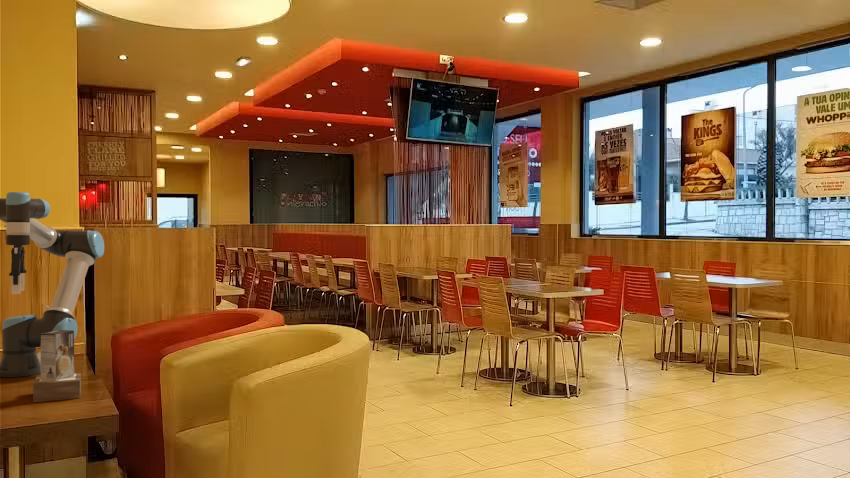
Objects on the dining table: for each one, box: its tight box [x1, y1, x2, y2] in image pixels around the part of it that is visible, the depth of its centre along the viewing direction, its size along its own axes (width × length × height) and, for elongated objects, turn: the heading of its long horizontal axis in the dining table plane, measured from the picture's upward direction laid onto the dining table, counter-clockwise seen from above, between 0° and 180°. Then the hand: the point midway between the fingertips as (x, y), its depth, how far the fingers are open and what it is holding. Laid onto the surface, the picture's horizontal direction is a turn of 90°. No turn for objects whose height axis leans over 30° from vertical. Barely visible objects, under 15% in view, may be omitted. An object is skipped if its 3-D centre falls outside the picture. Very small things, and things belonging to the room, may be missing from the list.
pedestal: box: [32, 372, 82, 403], centre depth 240 cm, size 14×14×6 cm
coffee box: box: [40, 330, 75, 381], centre depth 239 cm, size 9×6×16 cm
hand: (18, 292), depth 251 cm, fingers open, 13 cm apart
